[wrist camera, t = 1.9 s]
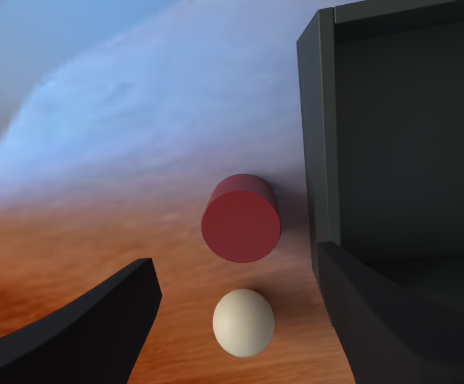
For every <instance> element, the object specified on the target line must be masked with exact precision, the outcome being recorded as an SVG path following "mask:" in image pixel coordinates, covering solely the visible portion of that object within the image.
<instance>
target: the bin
mask: <svg viewBox="0 0 464 384" xmlns="http://www.w3.org/2000/svg"><path fill="white" fill-rule="evenodd" d="M297 55H298V70H299V84H300V98H301V112H302V126H303V141H304V155H305V169H306V183H307V198H308V212H309V226H310V240H311V255H312V269H313V272H314V274H315V277H316V280H317V283H318V286H319V289H320V292H321V288H320V284H319V269H318V253H317V242H326V241H333V242H334V243H336V244H337V245H339V246H340V247H341V248H343V249H344V250H345V251H347V252H348V253H349V254H351V255H352V256H354V257H355V258H357V259H358V260H359V261H361V262H362V263H364V264H365V265H367V266H368V267H370V268H372V269H373V270H375V271H376V272H378V273H380V274H381V275H383V276H385V277H386V278H388V279H390V280H392V281H394V282H395V283H397V284H399V285H401V286H403V287H405V288H407V289H409V290H411V291H413V292H415V293H417V294H419V295H422V296H424V297H426V298H428V299H431V300H433V301H436V302H438V303H440V304H443V305H445V306H448V307H450V308H453V309H455V310H458V311H461V312H463V313H464V0H365V1H360V2H355V3H350V4H345V5H340V6H335V7H334V8H333V7H330V8H325V9H320V10H318V11H317V12H316V14H315V15H314V17H313V18H312V20H311V21H310V23H309V24H308V26H307V27H306V29H305V30H304V32H303V33H302V35H301V36H300V38H299V39H298V40H297ZM321 295H322V292H321ZM322 298H323V295H322ZM323 301H324V299H323ZM324 304H325V302H324ZM325 307H326V306H325ZM327 312H328V311H327ZM328 315H329V313H328ZM329 318H330V316H329ZM330 321H331V318H330ZM331 324H332V327H334V326H333V323H332V321H331Z"/></svg>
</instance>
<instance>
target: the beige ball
mask: <svg viewBox="0 0 464 384" xmlns="http://www.w3.org/2000/svg"><path fill="white" fill-rule="evenodd" d="M274 326H275V322H274V315H273V312H272V309H271V307H270V305H269V303H268V302H267V301H266V299H265V298H264V297H263V296H262V295H260V294H259V293H257V292H255V291H253V290H249V289H237V290H234V291H231V292H229V293H228V294H226V295H225V296H224V297H223V298H222V299H221V300H220V302H219V303H218V305H217V307H216V309H215V312H214V316H213V329H214V333H215V336H216V338H217V341H218V342H219V344H220V345H221V346H222V347H223V348H224V349H225V350H226V351H227V352H228V353H230V354H232V355H234V356H237V357H251V356H254V355H257V354H258V353H260V352H261V351H263V350H264V349H265V348H266V347H267V345H268V344H269V342H270V341H271V339H272V336H273V333H274Z"/></svg>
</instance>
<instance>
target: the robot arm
mask: <svg viewBox="0 0 464 384" xmlns="http://www.w3.org/2000/svg"><path fill="white" fill-rule="evenodd" d="M317 253H318V269H319V284H320V288H321V292H322V295H323V299H324V302H325V306H326V309H327V311H328V313H329V316H330V318H331V321H332V323H333V326H334V328H335V330H336V333H337V335H338V338H339V340H340V342H341V345H342V347H343V350H344V352H345V354H346V357H347V359H348V362H349V364H350V367H351V370H352V372H353V376H354V379H355V382H356V384H464V313H463V312H461V311H458V310H455V309H453V308H450V307H448V306H445V305H443V304H440V303H438V302H436V301H433V300H431V299H428V298H426V297H424V296H422V295H419V294H417V293H415V292H413V291H411V290H409V289H407V288H405V287H403V286H401V285H399V284H397V283H395V282H394V281H392V280H390V279H388V278H386V277H385V276H383V275H381V274H380V273H378V272H376V271H375V270H373V269H372V268H370V267H368V266H367V265H365V264H364V263H362V262H361V261H359V260H358V259H357V258H355V257H354V256H352V255H351V254H349V253H348V252H347V251H345V250H344V249H343V248H341V247H340V246H339V245H337V244H336V243H334V242H333V241H326V242H317ZM161 298H162V293H161V290H160V286H159V283H158V279H157V275H156V272H155V268H154V265H153V261H152V258H143V259H137V260H136V261H134V262H132V263H130V264H129V265H127V266H126V267H124V268H123V269H121V270H120V271H118V272H117V273H115V274H114V275H112V276H111V277H109V278H108V279H106V280H105V281H103V282H102V283H101V284H99V285H98V286H96V287H94V288H93V289H91V290H90V291H88V292H87V293H85V294H83V295H82V296H80V297H79V298H77V299H76V300H74V301H72V302H71V303H69V304H67V305H65V306H64V307H62V308H60V309H58V310H56V311H55V312H53V313H51V314H49V315H47V316H45V317H43V318H41V319H39V320H37V321H35V322H33V323H31V324H29V325H27V326H25V327H23V328H21V329H18V330H16V331H14V332H12V333H10V334H8V335H5V336H3V337H1V338H0V384H127V381H128V379H129V376H130V374H131V372H132V369H133V367H134V365H135V362H136V360H137V358H138V356H139V354H140V351H141V349H142V347H143V345H144V343H145V340H146V338H147V336H148V334H149V332H150V329H151V327H152V325H153V323H154V320H155V318H156V315H157V312H158V309H159V305H160V302H161Z"/></svg>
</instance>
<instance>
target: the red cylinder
mask: <svg viewBox="0 0 464 384" xmlns="http://www.w3.org/2000/svg"><path fill="white" fill-rule="evenodd" d="M201 230H202V235H203V238H204V240H205V242H206V244H207V245H208V247H209V248H210V249H211V250H212V251H213V252H214V253H215V254H217V255H218V256H220V257H221V258H223V259H226V260H228V261H231V262H237V263H247V262H253V261H256V260H259V259H261V258H263V257H265V256H266V255H267V254H269V253H270V252H271V251H272V250H273V248H274V247H275V246H276V244H277V242H278V240H279V237H280V234H281V222H280V217H279V212H278V207H277V202H276V198H275V195H274V193H273V191H272V189H271V188H270V186H269V185H268V184H267V183H266V182H265V181H263V180H262V179H260V178H258V177H256V176H253V175H248V174H238V175H233V176H230V177H228V178H226V179H224V180H223V181H222V182H221V183H219V185H218V186H217V187H216V188H215V190H214V192H213V194H212V196H211V198H210V200H209V202H208V205H207V207H206V209H205V211H204V213H203V216H202V221H201Z"/></svg>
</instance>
